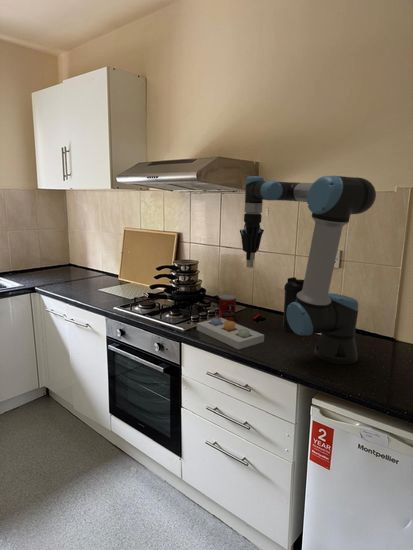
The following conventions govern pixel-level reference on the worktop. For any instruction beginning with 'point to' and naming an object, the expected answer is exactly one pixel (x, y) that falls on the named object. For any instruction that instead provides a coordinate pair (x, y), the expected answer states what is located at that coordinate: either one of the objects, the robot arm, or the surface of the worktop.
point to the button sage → (243, 333)
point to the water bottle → (291, 298)
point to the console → (230, 334)
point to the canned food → (227, 307)
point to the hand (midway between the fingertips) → (249, 267)
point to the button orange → (229, 326)
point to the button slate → (216, 321)
